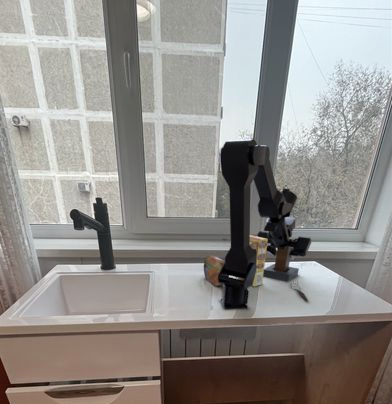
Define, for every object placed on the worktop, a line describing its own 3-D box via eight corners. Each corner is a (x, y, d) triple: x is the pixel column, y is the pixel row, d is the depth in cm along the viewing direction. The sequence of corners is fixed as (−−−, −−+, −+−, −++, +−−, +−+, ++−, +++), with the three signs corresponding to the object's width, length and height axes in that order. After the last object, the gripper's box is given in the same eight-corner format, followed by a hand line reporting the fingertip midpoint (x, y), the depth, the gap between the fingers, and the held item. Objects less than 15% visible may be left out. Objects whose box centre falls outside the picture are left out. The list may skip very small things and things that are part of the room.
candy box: (262, 284, 98) (268, 238, 90) (253, 287, 96) (259, 239, 88) (245, 277, 104) (249, 234, 97) (236, 279, 102) (240, 235, 95)
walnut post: (283, 277, 105) (289, 241, 99) (273, 275, 107) (278, 239, 101) (287, 275, 108) (293, 239, 102) (277, 273, 110) (282, 238, 104)
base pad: (288, 281, 101) (289, 274, 100) (262, 276, 106) (263, 269, 105) (297, 274, 109) (298, 268, 107) (272, 270, 114) (273, 263, 112)
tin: (202, 275, 105) (203, 252, 101) (210, 275, 106) (211, 252, 102) (219, 289, 93) (221, 264, 89) (228, 288, 94) (230, 263, 90)
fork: (302, 302, 85) (304, 296, 84) (289, 284, 99) (290, 279, 98) (311, 303, 85) (313, 296, 84) (296, 284, 99) (297, 279, 98)
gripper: (316, 211, 89) (318, 242, 102) (260, 206, 98) (269, 235, 111) (302, 241, 87) (306, 268, 100) (247, 233, 96) (258, 259, 110)
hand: (284, 257), depth 105 cm, fingers open, 6 cm apart
